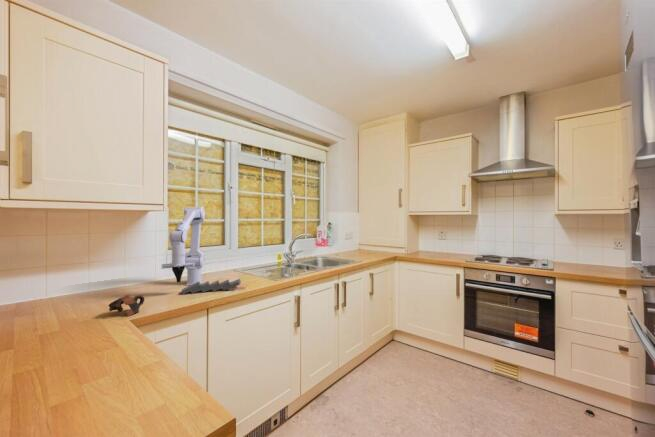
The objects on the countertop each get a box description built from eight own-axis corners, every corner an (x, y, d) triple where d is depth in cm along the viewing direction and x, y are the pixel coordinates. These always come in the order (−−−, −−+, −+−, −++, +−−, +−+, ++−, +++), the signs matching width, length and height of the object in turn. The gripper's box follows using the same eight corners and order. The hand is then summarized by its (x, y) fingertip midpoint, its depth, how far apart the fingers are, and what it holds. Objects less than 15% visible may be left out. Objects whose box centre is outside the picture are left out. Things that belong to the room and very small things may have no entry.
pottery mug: (121, 320, 106) (110, 302, 106) (113, 326, 110) (102, 308, 110) (152, 304, 116) (142, 286, 116) (143, 310, 121) (133, 293, 121)
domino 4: (212, 286, 148) (228, 279, 150) (213, 289, 148) (229, 282, 150) (212, 288, 143) (228, 281, 145) (213, 291, 143) (229, 284, 146)
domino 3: (202, 287, 146) (218, 280, 149) (203, 290, 146) (219, 283, 149) (201, 289, 141) (218, 282, 144) (202, 292, 141) (219, 285, 144)
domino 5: (224, 284, 149) (239, 278, 150) (225, 287, 149) (240, 281, 150) (222, 287, 144) (238, 281, 145) (223, 290, 144) (239, 284, 145)
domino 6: (228, 286, 150) (244, 284, 153) (228, 289, 150) (244, 287, 153) (228, 288, 145) (245, 286, 149) (228, 291, 145) (245, 290, 149)
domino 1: (182, 289, 142) (199, 281, 145) (183, 292, 143) (200, 284, 146) (181, 291, 138) (198, 283, 141) (182, 294, 138) (200, 286, 141)
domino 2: (191, 288, 144) (208, 281, 147) (193, 291, 144) (209, 284, 147) (190, 290, 139) (208, 283, 142) (192, 293, 140) (209, 286, 143)
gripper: (160, 256, 133) (160, 285, 133) (193, 255, 138) (194, 282, 139) (162, 254, 140) (163, 281, 140) (194, 253, 145) (195, 279, 145)
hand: (178, 281), depth 140 cm, fingers closed
